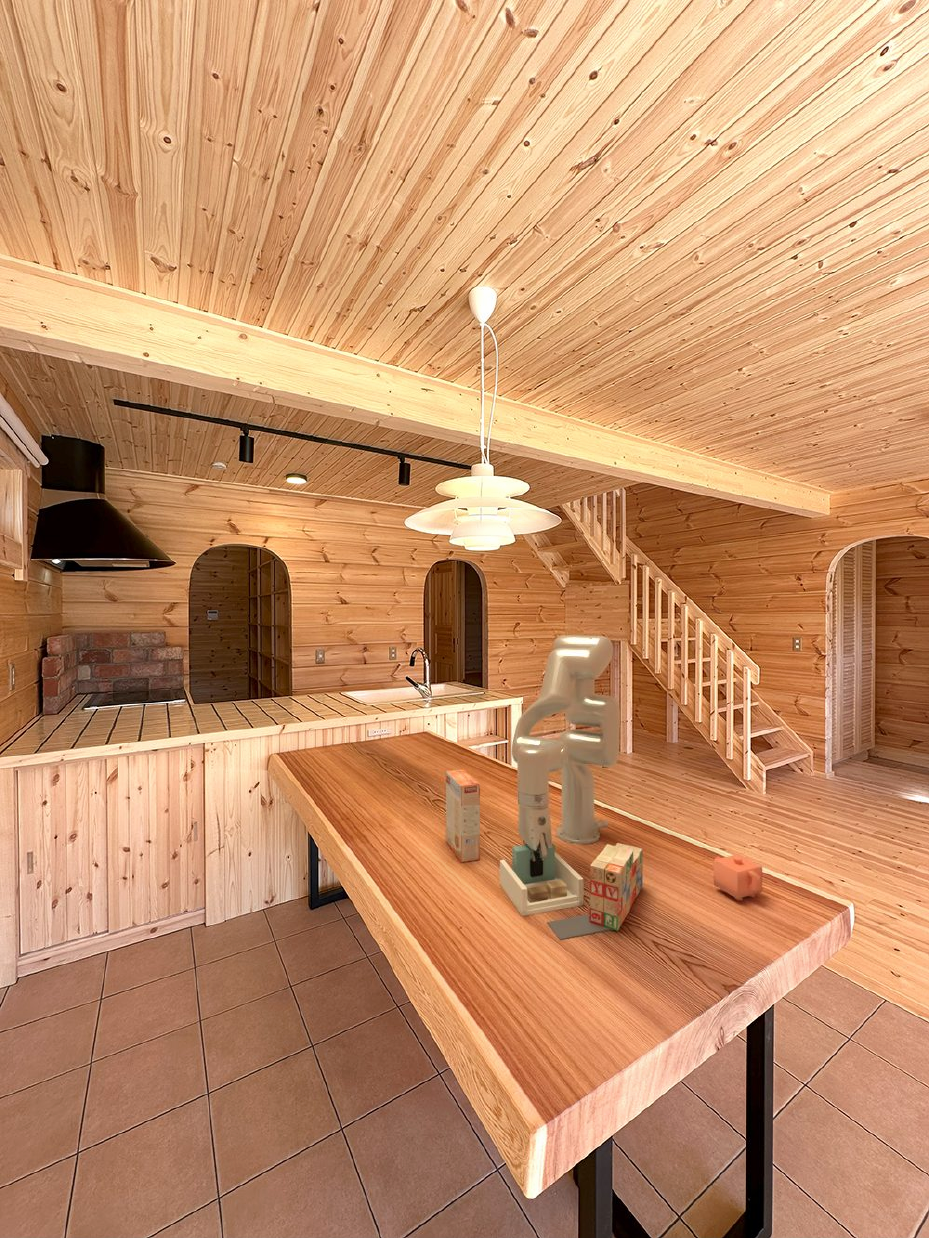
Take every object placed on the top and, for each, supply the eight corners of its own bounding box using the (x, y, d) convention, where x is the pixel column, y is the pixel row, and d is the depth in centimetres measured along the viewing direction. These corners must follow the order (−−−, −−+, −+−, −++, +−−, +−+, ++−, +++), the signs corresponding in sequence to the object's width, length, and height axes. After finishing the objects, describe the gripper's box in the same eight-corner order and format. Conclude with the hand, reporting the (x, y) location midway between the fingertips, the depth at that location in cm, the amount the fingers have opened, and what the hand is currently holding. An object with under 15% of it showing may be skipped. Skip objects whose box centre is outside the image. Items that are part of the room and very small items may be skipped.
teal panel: (550, 875, 129) (549, 841, 128) (554, 880, 126) (554, 845, 126) (512, 881, 126) (512, 846, 126) (516, 886, 123) (516, 851, 123)
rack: (555, 875, 131) (555, 851, 131) (583, 905, 118) (583, 878, 118) (499, 884, 127) (499, 860, 127) (522, 916, 113) (522, 889, 113)
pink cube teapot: (727, 876, 130) (727, 843, 130) (770, 901, 119) (770, 865, 119) (703, 882, 127) (703, 848, 127) (745, 908, 116) (745, 871, 116)
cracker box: (481, 860, 139) (481, 782, 139) (460, 864, 137) (459, 785, 137) (465, 838, 152) (464, 768, 152) (445, 841, 151) (444, 770, 150)
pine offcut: (562, 892, 121) (561, 880, 121) (567, 898, 119) (567, 885, 118) (546, 895, 120) (546, 882, 120) (551, 901, 117) (551, 888, 117)
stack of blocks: (616, 879, 129) (617, 830, 128) (642, 886, 125) (643, 836, 125) (588, 921, 110) (589, 864, 110) (618, 931, 107) (619, 872, 107)
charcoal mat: (600, 913, 114) (600, 911, 114) (616, 929, 109) (616, 927, 109) (547, 924, 111) (547, 922, 111) (560, 941, 105) (560, 939, 105)
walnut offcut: (543, 896, 120) (543, 885, 120) (548, 902, 117) (547, 891, 117) (527, 899, 118) (527, 888, 118) (531, 905, 116) (531, 893, 116)
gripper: (562, 807, 119) (563, 886, 119) (533, 784, 134) (534, 855, 135) (532, 811, 117) (533, 892, 117) (506, 788, 132) (507, 859, 133)
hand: (533, 871), depth 126 cm, fingers closed on teal panel, 2 cm apart
